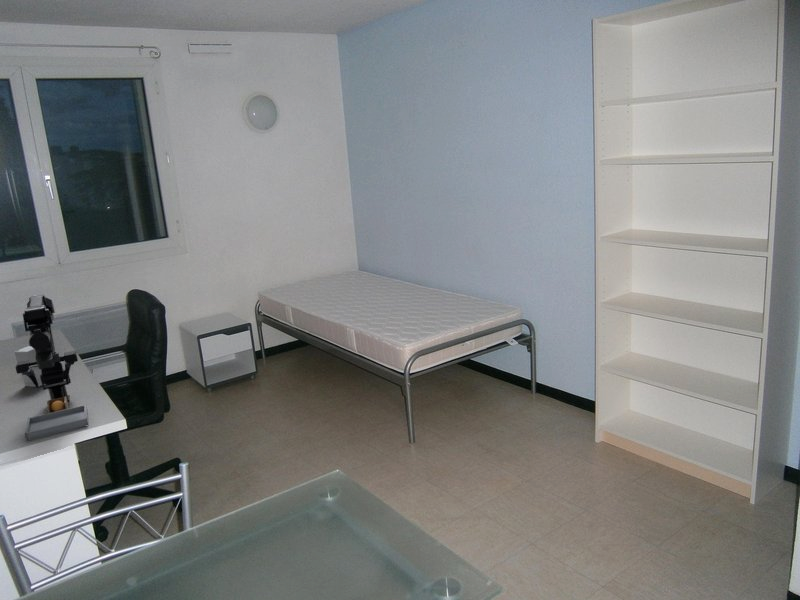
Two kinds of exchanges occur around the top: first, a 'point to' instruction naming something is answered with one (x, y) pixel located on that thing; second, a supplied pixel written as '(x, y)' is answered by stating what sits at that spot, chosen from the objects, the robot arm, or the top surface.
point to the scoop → (57, 400)
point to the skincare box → (30, 355)
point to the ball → (57, 406)
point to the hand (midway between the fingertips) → (52, 384)
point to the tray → (56, 422)
